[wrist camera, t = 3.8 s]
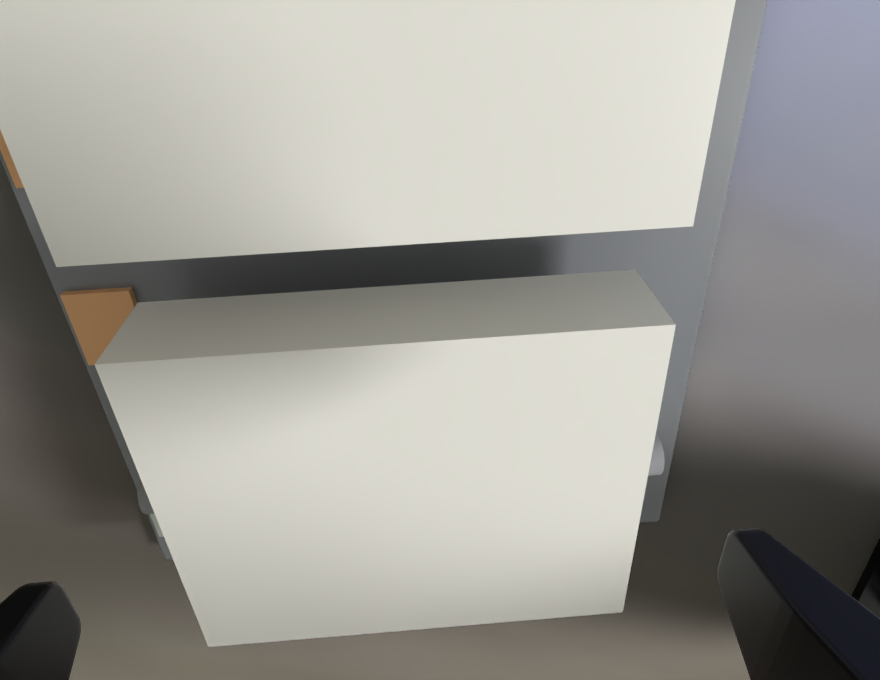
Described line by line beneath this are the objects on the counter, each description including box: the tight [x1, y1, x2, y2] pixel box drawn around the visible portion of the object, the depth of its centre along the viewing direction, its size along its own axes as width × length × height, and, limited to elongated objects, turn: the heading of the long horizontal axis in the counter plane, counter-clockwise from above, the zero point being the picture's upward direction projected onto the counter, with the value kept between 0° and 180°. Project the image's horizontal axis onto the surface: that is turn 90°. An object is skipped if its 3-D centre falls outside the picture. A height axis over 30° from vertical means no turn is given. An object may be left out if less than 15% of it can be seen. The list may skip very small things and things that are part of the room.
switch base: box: [0, 0, 768, 560], centre depth 15 cm, size 22×16×1 cm
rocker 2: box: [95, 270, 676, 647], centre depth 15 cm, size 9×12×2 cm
